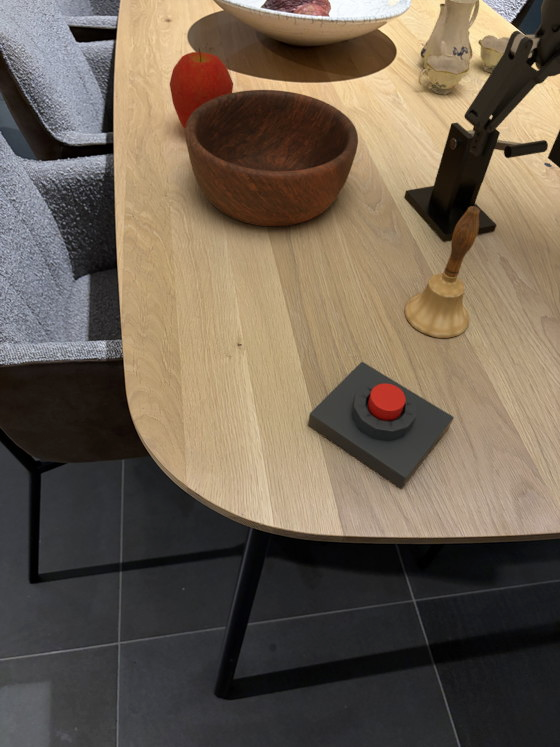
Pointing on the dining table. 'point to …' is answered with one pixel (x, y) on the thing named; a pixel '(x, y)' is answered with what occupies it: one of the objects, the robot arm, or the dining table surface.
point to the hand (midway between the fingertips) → (515, 170)
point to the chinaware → (456, 46)
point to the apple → (198, 82)
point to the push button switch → (380, 426)
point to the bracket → (450, 189)
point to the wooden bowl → (270, 155)
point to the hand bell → (446, 288)
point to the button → (386, 402)
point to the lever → (519, 147)
